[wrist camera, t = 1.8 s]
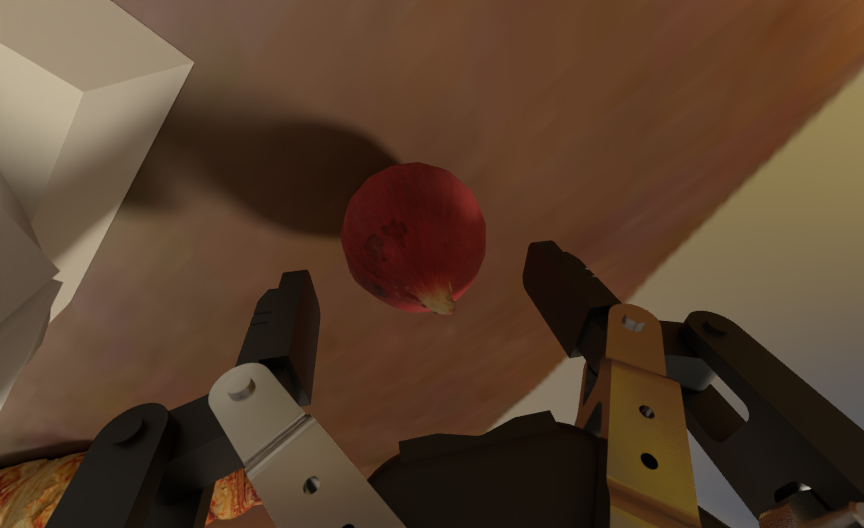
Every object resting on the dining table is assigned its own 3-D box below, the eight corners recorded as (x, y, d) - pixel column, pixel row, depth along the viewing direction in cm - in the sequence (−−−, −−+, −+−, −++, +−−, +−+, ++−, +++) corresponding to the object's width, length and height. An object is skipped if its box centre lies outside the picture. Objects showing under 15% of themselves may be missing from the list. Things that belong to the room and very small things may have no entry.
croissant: (-1, 442, 26) (-75, 573, 22) (-129, 450, 18) (-278, 660, 14) (280, 443, 33) (260, 540, 30) (282, 449, 25) (255, 585, 22)
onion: (359, 254, 18) (362, 383, 11) (328, 149, 14) (309, 254, 8) (460, 235, 18) (517, 348, 12) (457, 130, 15) (535, 212, 8)
